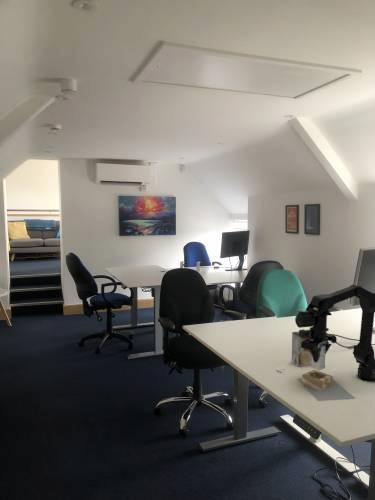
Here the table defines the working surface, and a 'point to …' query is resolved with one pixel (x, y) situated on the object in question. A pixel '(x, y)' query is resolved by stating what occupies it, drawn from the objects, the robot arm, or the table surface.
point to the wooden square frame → (317, 380)
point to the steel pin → (319, 359)
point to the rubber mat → (329, 392)
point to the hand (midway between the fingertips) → (318, 360)
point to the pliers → (280, 370)
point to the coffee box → (300, 352)
